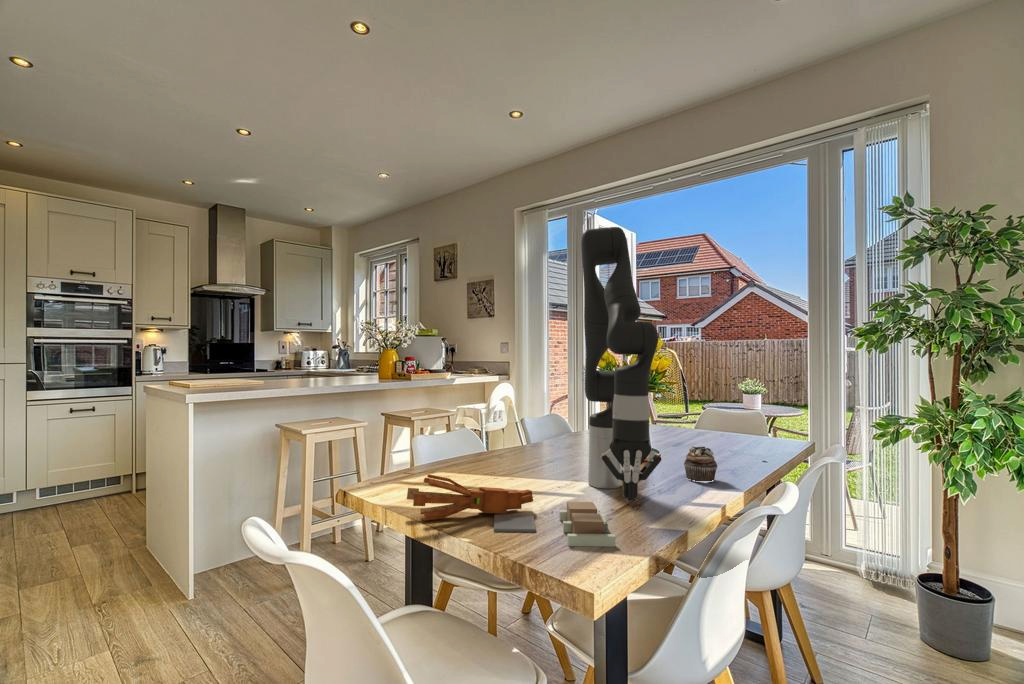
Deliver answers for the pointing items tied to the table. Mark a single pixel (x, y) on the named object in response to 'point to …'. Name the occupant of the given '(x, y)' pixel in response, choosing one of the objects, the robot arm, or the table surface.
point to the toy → (466, 499)
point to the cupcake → (700, 464)
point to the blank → (587, 523)
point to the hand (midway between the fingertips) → (629, 499)
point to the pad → (514, 523)
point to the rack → (584, 538)
